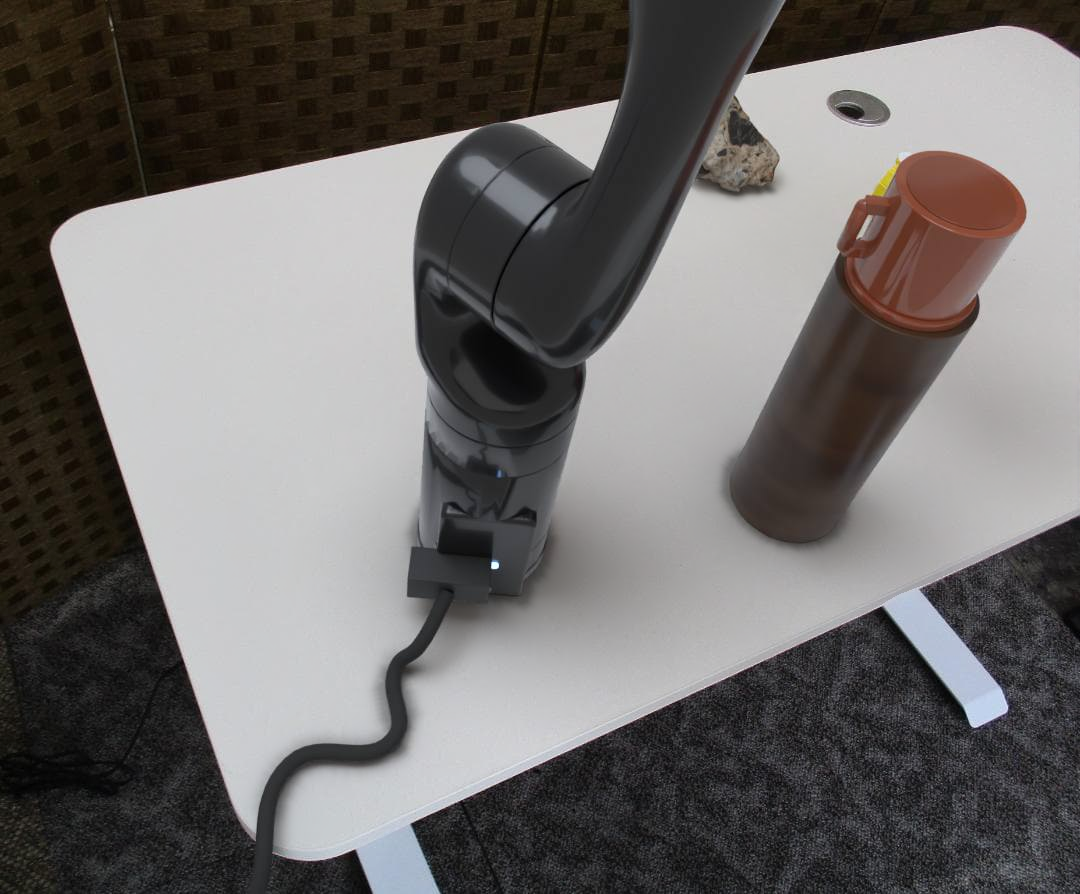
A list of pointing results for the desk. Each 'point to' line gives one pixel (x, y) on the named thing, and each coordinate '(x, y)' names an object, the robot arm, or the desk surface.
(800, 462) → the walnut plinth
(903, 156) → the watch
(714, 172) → the rock
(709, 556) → the desk surface
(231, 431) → the desk surface
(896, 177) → the upturned cup
